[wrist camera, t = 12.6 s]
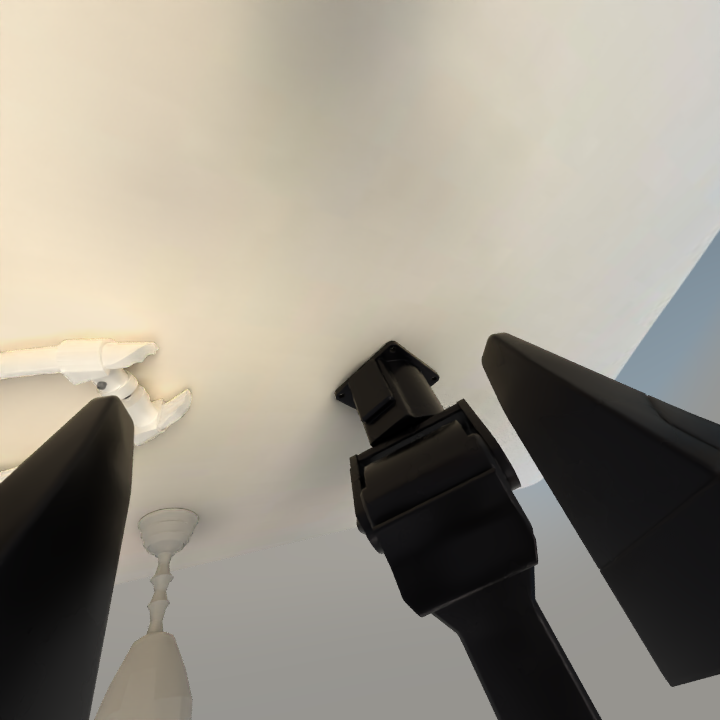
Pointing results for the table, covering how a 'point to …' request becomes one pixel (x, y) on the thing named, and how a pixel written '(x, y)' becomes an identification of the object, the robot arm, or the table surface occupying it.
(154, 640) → the chalice
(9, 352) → the door handle
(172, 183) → the table surface
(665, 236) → the table surface
